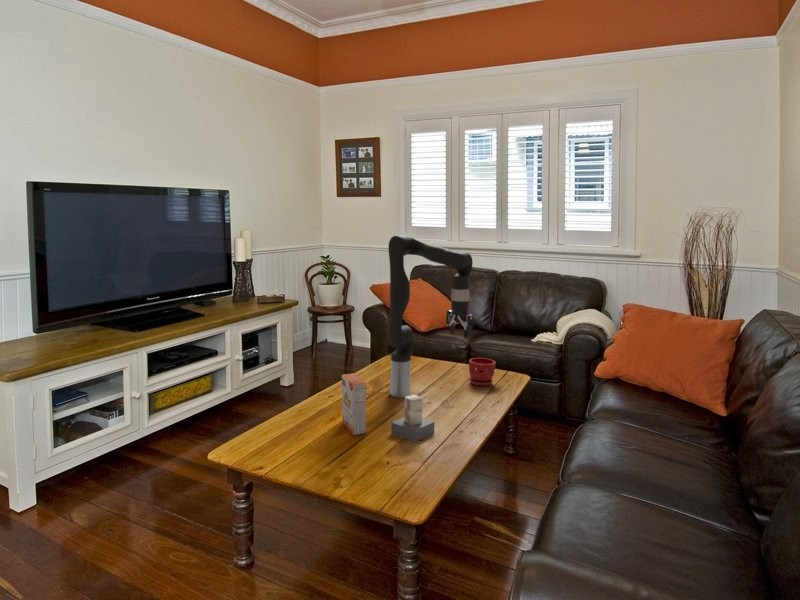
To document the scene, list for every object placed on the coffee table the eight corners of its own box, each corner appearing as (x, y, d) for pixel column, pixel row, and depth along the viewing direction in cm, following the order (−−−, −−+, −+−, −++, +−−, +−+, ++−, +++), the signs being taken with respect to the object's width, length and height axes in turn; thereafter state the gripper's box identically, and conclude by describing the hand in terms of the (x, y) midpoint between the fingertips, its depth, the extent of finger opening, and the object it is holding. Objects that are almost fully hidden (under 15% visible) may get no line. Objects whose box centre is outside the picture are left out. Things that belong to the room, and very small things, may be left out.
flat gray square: (391, 434, 214) (391, 422, 213) (411, 425, 223) (411, 413, 222) (414, 443, 206) (414, 430, 205) (434, 433, 215) (434, 421, 214)
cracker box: (341, 423, 224) (341, 374, 220) (355, 421, 226) (355, 372, 223) (352, 436, 211) (351, 384, 208) (366, 433, 213) (366, 382, 210)
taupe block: (404, 420, 215) (404, 396, 213) (415, 418, 217) (415, 394, 216) (410, 425, 210) (411, 400, 209) (421, 422, 213) (422, 398, 211)
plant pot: (488, 389, 268) (489, 365, 266) (464, 384, 275) (464, 361, 273) (498, 382, 279) (499, 359, 277) (475, 377, 286) (476, 355, 284)
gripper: (442, 297, 236) (441, 334, 238) (465, 302, 225) (464, 340, 227) (454, 296, 240) (453, 332, 243) (478, 300, 229) (477, 338, 232)
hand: (459, 336), depth 235 cm, fingers open, 8 cm apart
